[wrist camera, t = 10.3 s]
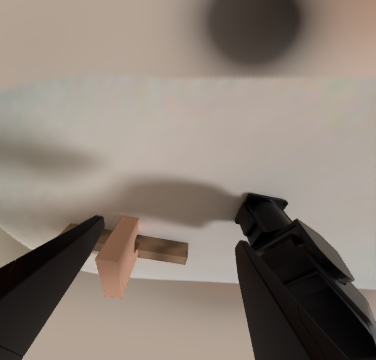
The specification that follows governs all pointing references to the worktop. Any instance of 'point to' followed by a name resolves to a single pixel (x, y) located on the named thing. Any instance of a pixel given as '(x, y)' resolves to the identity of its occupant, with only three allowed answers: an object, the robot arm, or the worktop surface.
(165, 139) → the worktop surface
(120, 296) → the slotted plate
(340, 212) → the worktop surface
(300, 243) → the robot arm
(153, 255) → the brown rail
